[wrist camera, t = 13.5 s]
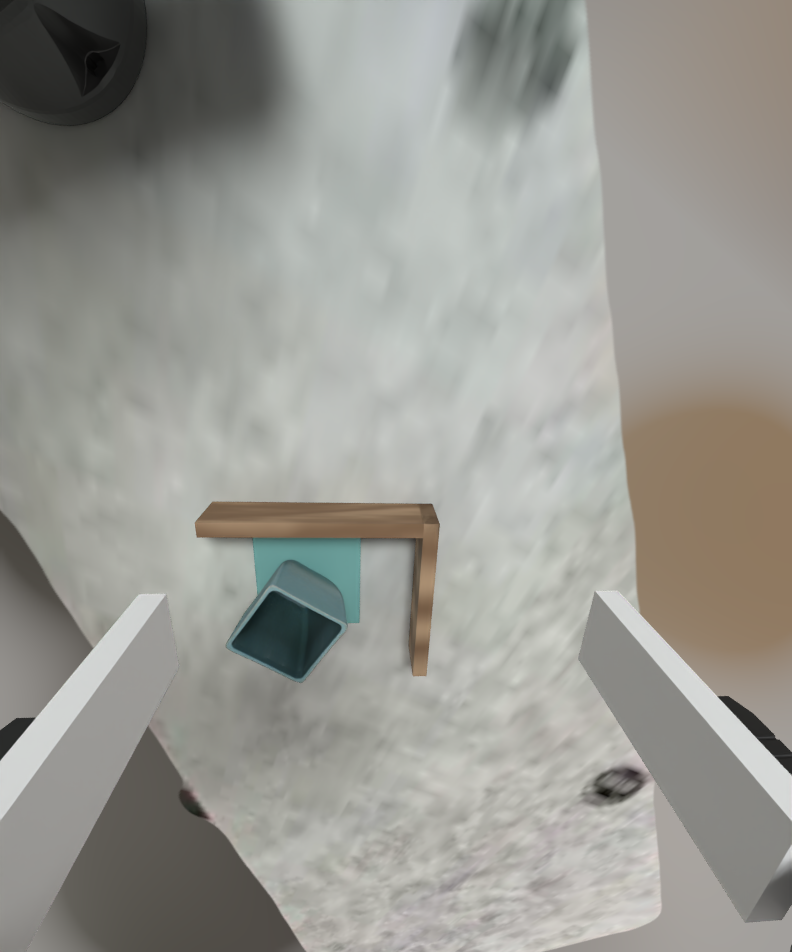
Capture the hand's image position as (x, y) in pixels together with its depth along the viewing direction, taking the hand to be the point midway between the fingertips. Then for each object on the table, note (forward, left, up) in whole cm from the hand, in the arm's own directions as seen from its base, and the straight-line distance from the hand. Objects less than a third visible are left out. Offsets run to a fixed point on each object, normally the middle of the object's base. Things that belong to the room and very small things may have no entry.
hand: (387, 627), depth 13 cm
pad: (+20, -7, -32) cm, 38 cm away
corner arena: (+20, -5, -32) cm, 38 cm away
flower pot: (+20, -8, -31) cm, 38 cm away
